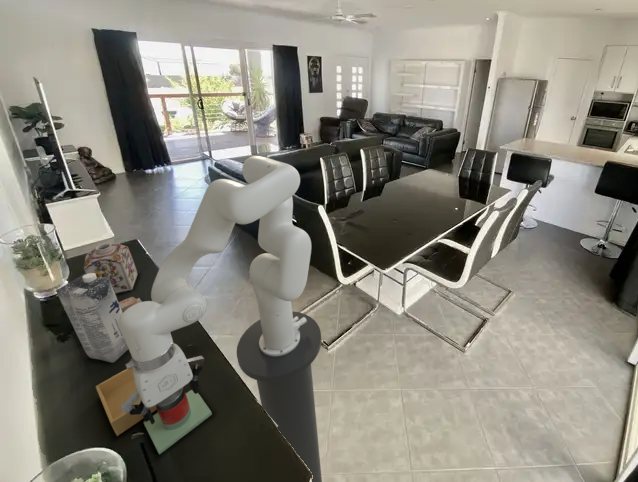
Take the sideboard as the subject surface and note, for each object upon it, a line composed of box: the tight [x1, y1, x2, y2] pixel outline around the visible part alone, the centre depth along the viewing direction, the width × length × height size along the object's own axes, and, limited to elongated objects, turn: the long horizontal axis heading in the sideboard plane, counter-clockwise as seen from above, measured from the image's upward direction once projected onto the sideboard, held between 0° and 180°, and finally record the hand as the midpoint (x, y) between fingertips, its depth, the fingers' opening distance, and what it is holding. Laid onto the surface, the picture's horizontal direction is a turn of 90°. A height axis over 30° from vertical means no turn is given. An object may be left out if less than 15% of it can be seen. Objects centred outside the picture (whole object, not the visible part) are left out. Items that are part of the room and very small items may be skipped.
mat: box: [143, 389, 213, 455], centre depth 80 cm, size 12×10×1 cm
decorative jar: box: [83, 243, 139, 295], centre depth 123 cm, size 12×12×18 cm
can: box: [156, 386, 191, 430], centre depth 78 cm, size 6×6×9 cm
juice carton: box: [55, 273, 129, 363], centre depth 93 cm, size 9×10×27 cm
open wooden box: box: [95, 368, 157, 437], centre depth 84 cm, size 14×14×5 cm
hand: (173, 404), depth 78 cm, fingers open, 9 cm apart
